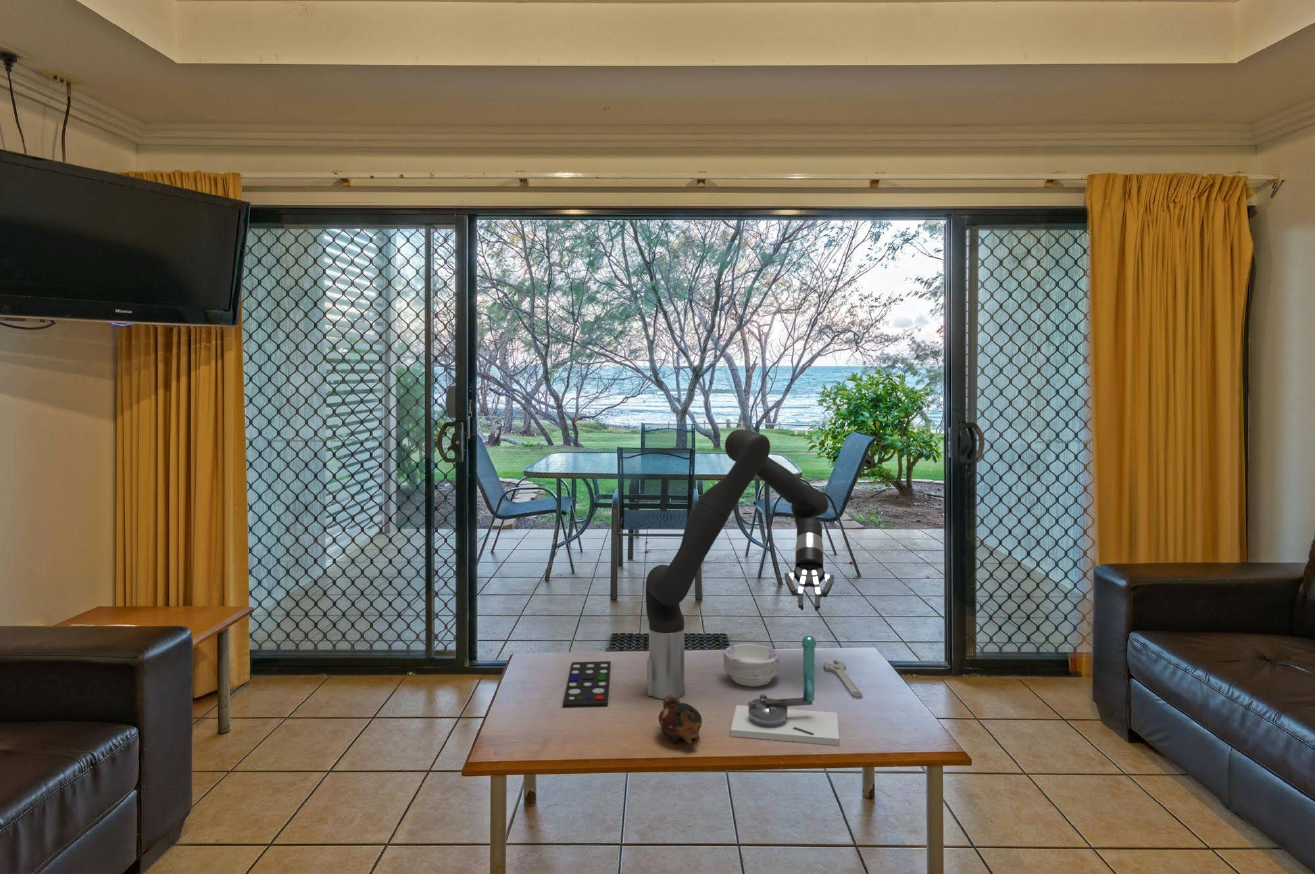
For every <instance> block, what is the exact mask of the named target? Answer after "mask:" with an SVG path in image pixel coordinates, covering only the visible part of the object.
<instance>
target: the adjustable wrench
mask: <svg viewBox="0 0 1315 874" xmlns="http://www.w3.org/2000/svg"><path fill="white" fill-rule="evenodd" d="M834 664H835V665H834ZM823 670H824V672H826V671H827V673H830V672H831V673H830V674H833V673H834V674H833V675H835V676H836V675H837V676H836V677H837V678H838V680H839V679H840V680H839V681H840V682H842V683H843V684H842V683H841V684H842V685H843V687H844V688H845V689H846V691H847V692H848V693H849V695H850V696H851V697H852V699H855V698H856V699H855V700H862V699H863V692H862V691H861V690H860V689H859V687H858V686H857V685H856V683H854V681H853V680H852V679H851V678H850V677H849V676H848V674H847V673H846V672H845V671H846V670H847V669H846V663H845V662H844V661H841V660H837V659H834V660H833V664H831V663H830V662H827V661H824V662H823ZM828 671H829V672H828ZM861 698H862V699H861Z"/></svg>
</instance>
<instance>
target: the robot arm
mask: <svg viewBox="0 0 1315 874" xmlns="http://www.w3.org/2000/svg"><path fill="white" fill-rule="evenodd" d="M724 450H725V453H726V455H727V457H728V458H729V459H731V460H732V461H734V463H733V466H732V467H731V468H730V470H729V472H728V473H726V475H725V476H724V477H723V478H721V480H719V481H718V482H716V483H715V484H714V485H712V486H711V487H710V488H709V489H707V490H706V491H705V492H703V494H701V496H700V497H699V498H698V500H697V502H696V504H695V505H694V507H693V508H692V510H691V512H690V514H689V515H688V518H687V519H686V522H685V527H684V530H683V534H682V538H681V539H682V540H681V543H680V546H679V548H678V551H677V553H676V554H675V556H674V557H673V559H672V561H670V563H669V565H667V564H659V565H656V566H654V567H653V568H652V569H650V571H649V572H648V573H647V577H646V580H645V604H646V606H645V607H646V609H645V610H646V615H647V617H646V618H647V620H648V638H649V640H648V643H649V644H648V646H649V647H648V649H649V650H648V651H649V652H648V654H649V655H648V658H647V660H646V663H647V665H646V666H647V669H646V670H647V671H646V672H647V673H646V674H647V677H646V678H647V696H650V697H653V698H655V699H660V700H664V699H665V698H666V696H668V695H674V696H676V697H677V698H678V699H680V697H681V698H682V696H684V694H685V691H686V690H685V687H686V685H685V684H686V683H685V681H686V680H685V674H686V673H685V671H686V670H685V667H686V666H685V617H684V615H683V613H682V610H681V607H680V603H681V602H683V600H684V599H685V598H686V597H687V595H688V593H689V591H690V589H691V587H692V585H693V582H694V581H695V578H696V576H697V574H698V571H699V569H700V567H701V565H702V564H703V562H704V560H705V558H706V556H707V555H708V553H709V552H710V550H711V548H712V546H713V544H714V543H715V541H716V539H717V537H718V536H719V534H720V533H721V532H722V530H723V528H724V526H725V525H726V523H727V521H728V520H729V518H730V516H731V514H732V513H733V510H734V509H735V507H736V505H737V504H738V502H739V501H740V499H741V498H742V497H743V494H744V492H745V491H746V489H747V488H748V486H749V485H750V484H751V483H752V481H753V479H754V478H755V476H757V477H758V478H760V480H762V481H763V482H764V483H766V484H767V485H768V486H769V487H770V488H771V489H772V490H773V491H775V492H776V493H777V494H778V495H779V496H780V497H781V498H782V499H784V501H785V502H787V503H788V504H791V507H790V509H791V512H792V513H791V514H792V515H793V518H794V521H795V526H796V541H795V542H796V543H795V553H794V554H795V557H794V559H795V566H794V567H795V568H794V569H793V572H791V573H790V572H789V573H788V572H785V573H784V574H783V575H784V581H785V584H786V586H787V587H788V590H789V592H790V594H791V596H795V597H797V607H798V609H800V611H804V592H805V589H806V588H813V590H814V611H815V612H817V611H818V610H820V609H821V598H827V597H828V594H829V593H830V591H831V589H832V587H833V586H834V583H835V575H833V574H827V573H826V571H825V569H824V544H823V525H822V523H821V521H820V520H819V519H816V517H819V516H821V515H822V516H823V515H824V514H826V513H827V512H828V510H829V501H828V498H827V497H826V495H825V494H824V493H823V492H822V491H821V490H819V489H817V488H815V487H813V486H811V485H808V483H807V484H806V483H805V482H803V481H801V479H799V477H798V476H796V475H795V474H794V473H793V472H792V471H790V470H789V469H788V468H787V467H784V465H782V464H780V463H778V462H777V461H776V460H773V459H772V458H771V457H770V456H769V455H770V452H771V442H770V440H769V438H768V437H767V436H766V435H764V434H762V433H759V432H756V431H752V430H748V429H743V428H741V429H735V430H733V431H731V432H730V433H729V434H728V436H727V437H726V439H725V443H724ZM794 579H795V580H796V581H797V582H798V583H799V586H798V588H796V586H795V584H794ZM824 579H825V581H824ZM823 581H824V582H825V584H824V586H823V588H822V590H821V588H820V584H821V583H822V582H823Z"/></svg>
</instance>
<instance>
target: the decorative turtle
mask: <svg viewBox="0 0 1315 874" xmlns="http://www.w3.org/2000/svg"><path fill="white" fill-rule="evenodd" d="M679 699H680V698H677V697H676V696H674V695H668V696H666V698H665V699H663V701H662V702H663V705H662V706H663V709H662V710H660V712H659V714H658V722H659V725H660V727H661V730H662V733H663V734H664V735H665V736H666V737H667V738H668V740H669V742H670V743H671V744H676V743H678V741H679V740H680V739H682V740H684V741H685V742H686V743H687V744H689V745H695V744H697V743H698V742H699V739H700V734H699V732H700V729H701V727H702V724H703V718H702V716H701V714H700V712H699V711H698V710H697V709H696V708H695V707H694V706H692V705H691V704H688V703H685V702H680V700H679Z"/></svg>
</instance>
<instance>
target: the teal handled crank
mask: <svg viewBox="0 0 1315 874" xmlns="http://www.w3.org/2000/svg"><path fill="white" fill-rule="evenodd" d="M801 646H802V649H803V650H802V652H803V653H802V654H803V655H802V658H803V659H802V664H803V665H802V666H803V667H802V671H803V673H802V674H803V675H802V676H803V677H802V678H803V679H802V683H803V684H802V687H803V688H802V691H803V692H802V697H794V698H777V699H776V698H769V697H768V696H767V695H766V693H762V694H759V698H757V699H756V698H755V699H752V700H751V701H748V703H747V704H748V705H747V706H748V718H749V720H750V721H751V722H752V723H754V724H756V725H759V726H765V727H776V726H781V725H783V724H785V723H786V722H787V709H788V707H797V706H812V705H813V702H814V701H815V670H816V669H815V657H816V656H815V649H816V647H817V639H816V638H815V637H813V636H812V635H805V636H803V638H802V639H801Z"/></svg>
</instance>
